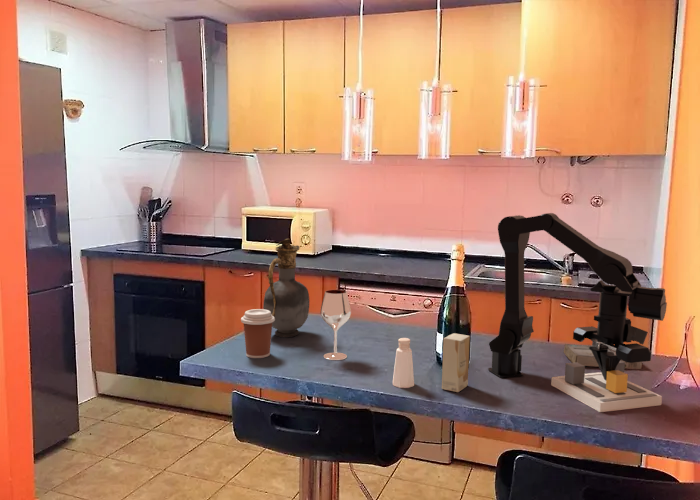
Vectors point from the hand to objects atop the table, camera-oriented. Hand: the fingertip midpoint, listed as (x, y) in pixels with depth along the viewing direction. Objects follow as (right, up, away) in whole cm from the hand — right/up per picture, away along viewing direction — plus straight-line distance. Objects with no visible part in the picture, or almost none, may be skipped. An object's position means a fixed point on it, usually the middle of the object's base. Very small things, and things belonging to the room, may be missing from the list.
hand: (607, 380), depth 135 cm
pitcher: (-78, +3, +48) cm, 92 cm away
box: (+10, -1, +26) cm, 28 cm away
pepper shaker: (-46, -3, +6) cm, 46 cm away
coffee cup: (-84, +1, +28) cm, 88 cm away
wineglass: (-62, 0, +27) cm, 68 cm away
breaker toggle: (+1, -2, -3) cm, 3 cm away
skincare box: (-34, -3, +5) cm, 34 cm away
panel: (0, -4, +1) cm, 4 cm away
